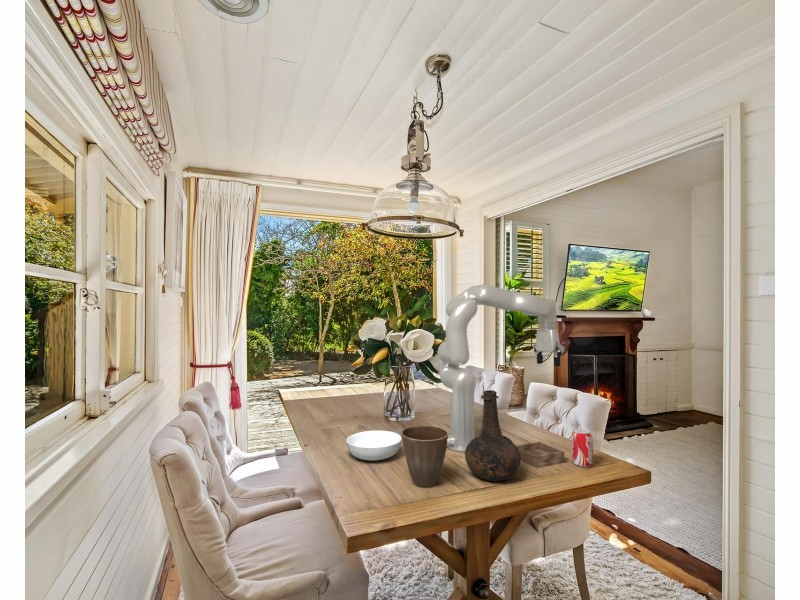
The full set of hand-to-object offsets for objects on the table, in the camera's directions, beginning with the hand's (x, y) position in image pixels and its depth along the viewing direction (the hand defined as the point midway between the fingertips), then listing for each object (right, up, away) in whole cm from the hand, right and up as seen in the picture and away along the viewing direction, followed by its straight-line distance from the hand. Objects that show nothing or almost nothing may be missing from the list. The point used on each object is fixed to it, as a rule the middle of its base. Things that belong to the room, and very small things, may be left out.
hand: (548, 364), depth 176 cm
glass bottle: (-36, -30, -45) cm, 65 cm away
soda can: (-2, -30, -36) cm, 47 cm away
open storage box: (-15, -30, -30) cm, 45 cm away
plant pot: (-58, -30, -51) cm, 83 cm away
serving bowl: (-76, -31, -27) cm, 86 cm away
